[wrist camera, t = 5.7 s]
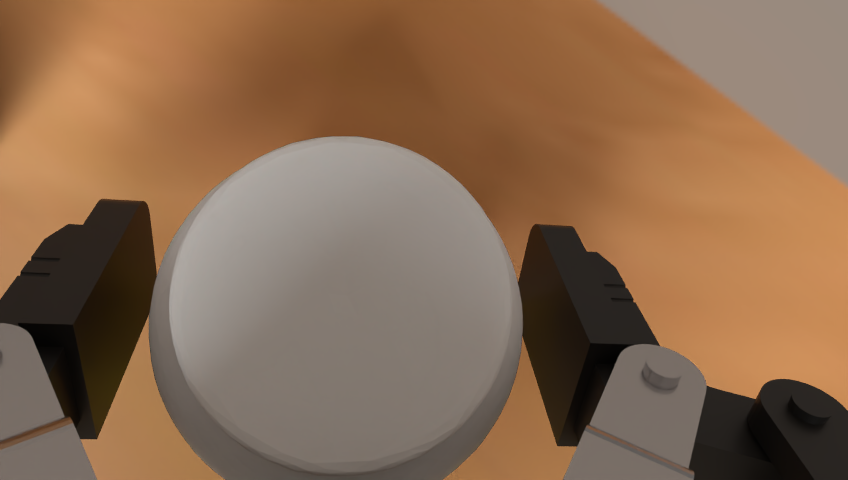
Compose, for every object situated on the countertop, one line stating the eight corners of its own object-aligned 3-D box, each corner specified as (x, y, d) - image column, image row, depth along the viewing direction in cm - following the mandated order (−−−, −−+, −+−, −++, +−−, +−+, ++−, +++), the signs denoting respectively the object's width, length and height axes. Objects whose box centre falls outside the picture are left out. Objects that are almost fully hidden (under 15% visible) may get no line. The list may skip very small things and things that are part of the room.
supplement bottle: (192, 294, 17) (11, 166, 7) (388, 212, 18) (458, 7, 9) (277, 500, 16) (203, 664, 7) (476, 400, 18) (665, 413, 8)
